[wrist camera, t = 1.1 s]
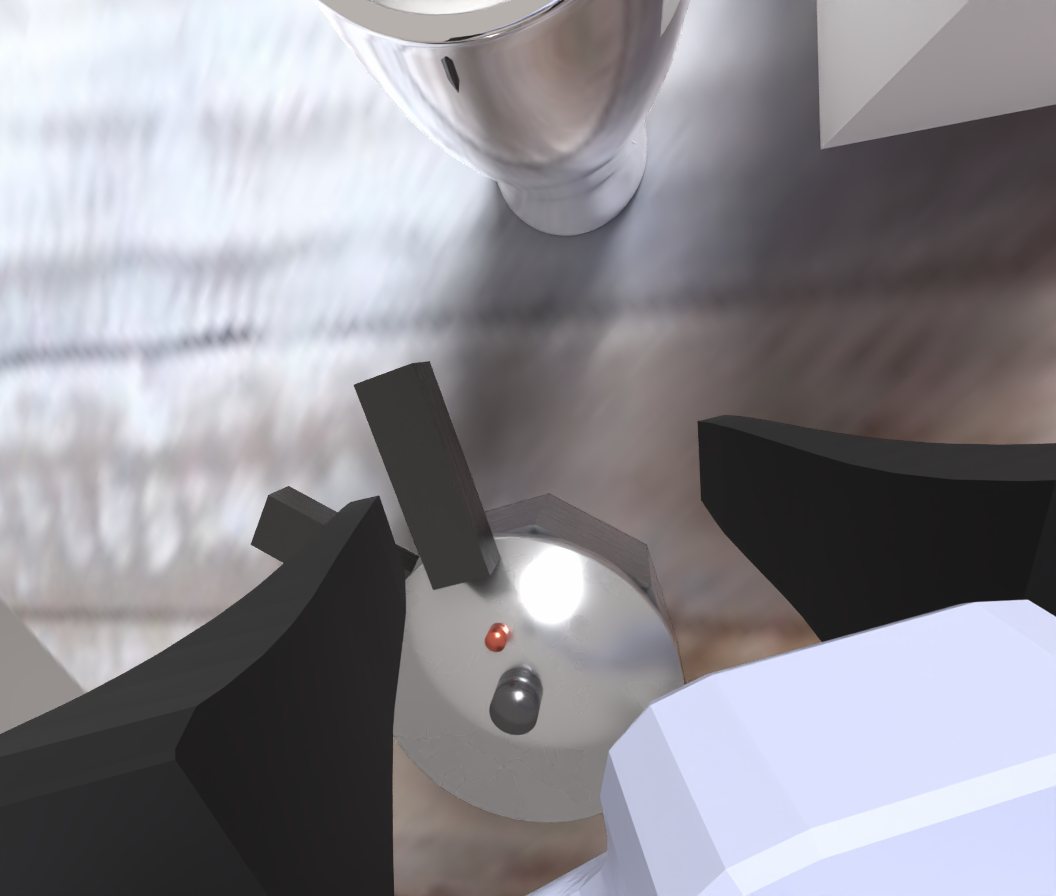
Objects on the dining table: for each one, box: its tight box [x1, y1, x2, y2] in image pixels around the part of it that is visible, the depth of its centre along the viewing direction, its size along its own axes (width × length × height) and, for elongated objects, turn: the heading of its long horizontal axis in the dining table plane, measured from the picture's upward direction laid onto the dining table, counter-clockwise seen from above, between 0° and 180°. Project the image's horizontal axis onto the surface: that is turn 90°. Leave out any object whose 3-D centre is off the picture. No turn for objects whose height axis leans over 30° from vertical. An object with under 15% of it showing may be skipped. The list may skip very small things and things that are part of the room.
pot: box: [251, 486, 685, 685], centre depth 23 cm, size 21×12×4 cm, turn 64°
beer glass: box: [313, 0, 690, 236], centre depth 13 cm, size 7×7×15 cm
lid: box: [354, 361, 683, 823], centre depth 19 cm, size 19×12×2 cm, turn 19°
